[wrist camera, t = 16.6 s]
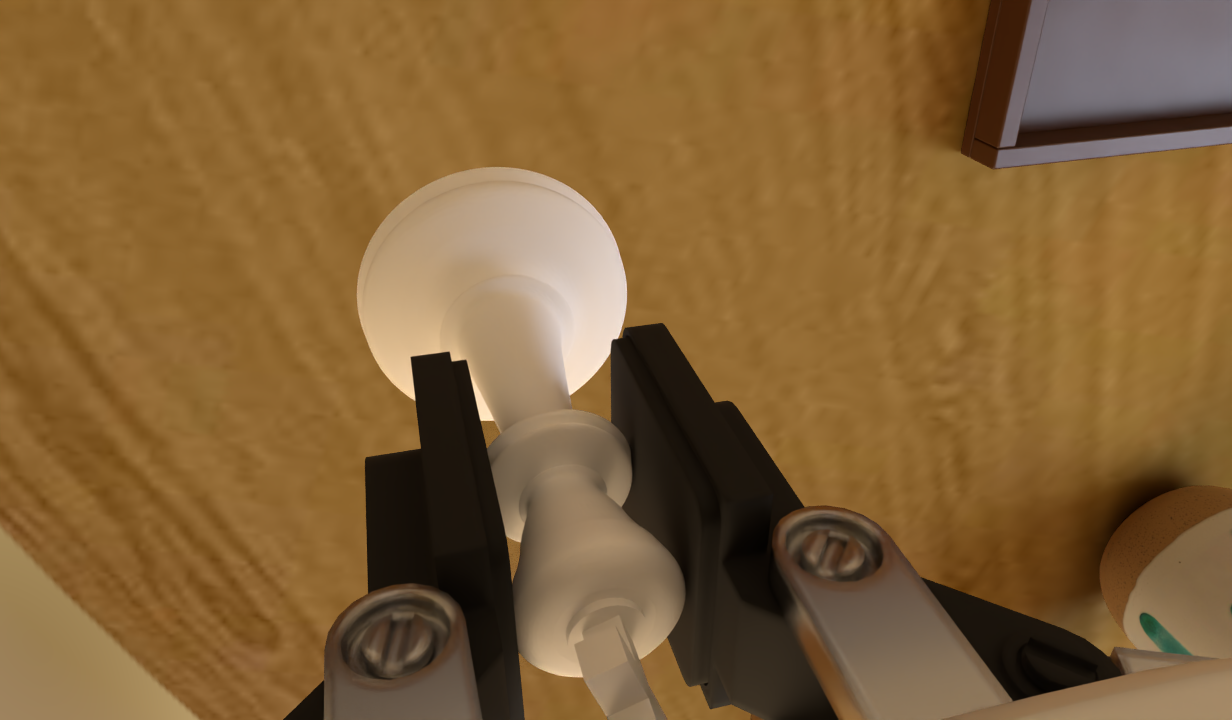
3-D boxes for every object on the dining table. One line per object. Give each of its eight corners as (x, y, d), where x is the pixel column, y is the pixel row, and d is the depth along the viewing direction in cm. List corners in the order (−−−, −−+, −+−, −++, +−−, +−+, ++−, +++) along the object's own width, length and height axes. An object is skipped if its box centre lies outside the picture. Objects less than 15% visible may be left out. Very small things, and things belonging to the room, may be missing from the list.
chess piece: (568, 120, 15) (852, 478, 7) (653, 342, 18) (928, 790, 9) (303, 237, 15) (250, 760, 6) (432, 442, 17) (512, 991, 9)
